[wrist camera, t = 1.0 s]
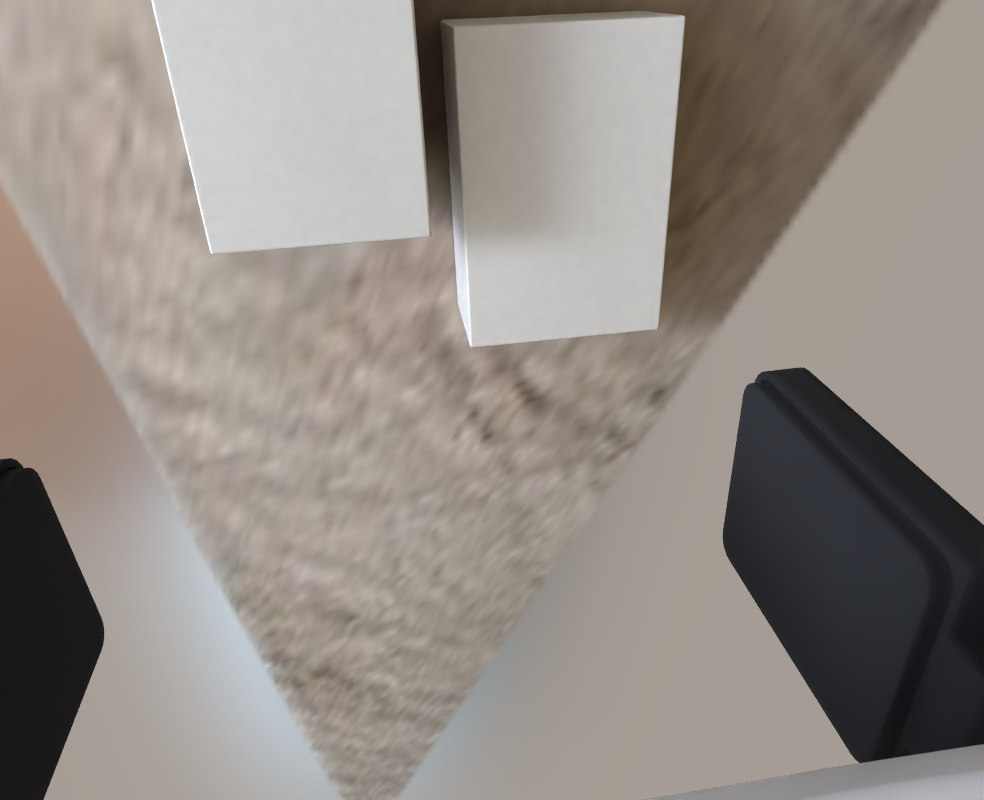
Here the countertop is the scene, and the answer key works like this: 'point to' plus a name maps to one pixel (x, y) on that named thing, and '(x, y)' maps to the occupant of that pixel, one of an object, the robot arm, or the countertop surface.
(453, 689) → the countertop surface
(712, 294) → the countertop surface
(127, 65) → the countertop surface
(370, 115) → the white book
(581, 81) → the white books
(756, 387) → the robot arm
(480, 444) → the countertop surface
